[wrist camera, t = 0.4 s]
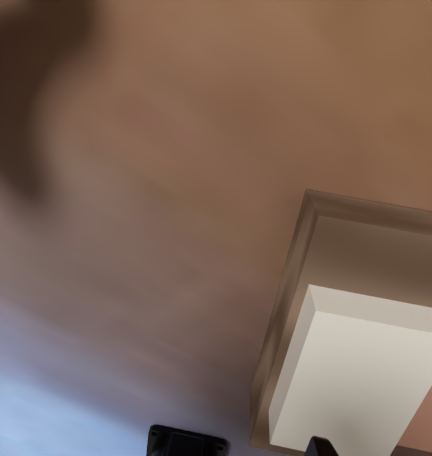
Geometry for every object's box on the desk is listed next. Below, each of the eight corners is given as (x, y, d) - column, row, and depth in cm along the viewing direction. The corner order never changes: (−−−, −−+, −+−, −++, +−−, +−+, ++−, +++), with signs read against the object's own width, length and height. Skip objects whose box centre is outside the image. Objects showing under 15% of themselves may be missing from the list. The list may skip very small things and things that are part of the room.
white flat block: (370, 431, 19) (382, 468, 17) (268, 410, 19) (269, 443, 17) (435, 308, 15) (460, 338, 13) (308, 284, 16) (315, 310, 14)
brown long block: (343, 411, 24) (359, 469, 20) (250, 391, 24) (249, 445, 21) (435, 212, 17) (482, 245, 14) (305, 189, 18) (318, 215, 14)
